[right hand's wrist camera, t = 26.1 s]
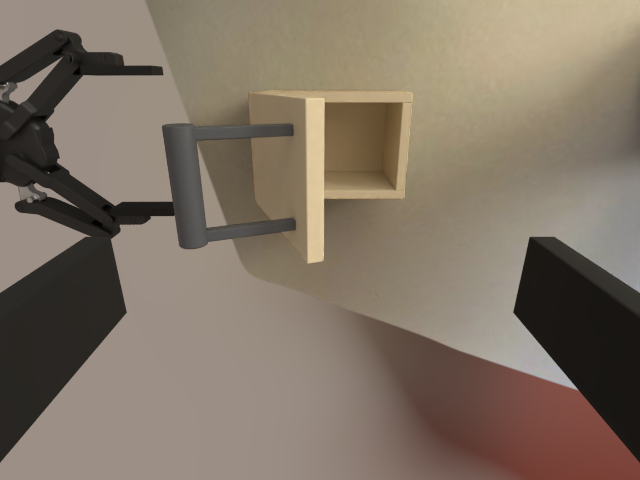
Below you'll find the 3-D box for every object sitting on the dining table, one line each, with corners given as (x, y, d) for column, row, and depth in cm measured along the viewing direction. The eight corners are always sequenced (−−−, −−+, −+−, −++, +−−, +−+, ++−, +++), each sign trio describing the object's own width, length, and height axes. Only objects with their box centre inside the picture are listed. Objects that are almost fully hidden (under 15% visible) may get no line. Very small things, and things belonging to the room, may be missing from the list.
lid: (325, 98, 21) (158, 99, 18) (324, 261, 25) (184, 284, 22) (260, 92, 34) (157, 92, 31) (266, 200, 38) (174, 209, 35)
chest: (393, 90, 44) (413, 92, 35) (387, 176, 48) (404, 199, 38) (268, 90, 44) (255, 92, 35) (272, 176, 48) (261, 199, 38)
